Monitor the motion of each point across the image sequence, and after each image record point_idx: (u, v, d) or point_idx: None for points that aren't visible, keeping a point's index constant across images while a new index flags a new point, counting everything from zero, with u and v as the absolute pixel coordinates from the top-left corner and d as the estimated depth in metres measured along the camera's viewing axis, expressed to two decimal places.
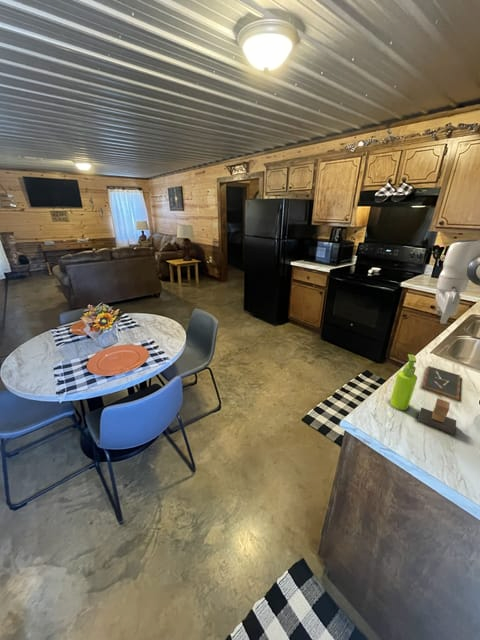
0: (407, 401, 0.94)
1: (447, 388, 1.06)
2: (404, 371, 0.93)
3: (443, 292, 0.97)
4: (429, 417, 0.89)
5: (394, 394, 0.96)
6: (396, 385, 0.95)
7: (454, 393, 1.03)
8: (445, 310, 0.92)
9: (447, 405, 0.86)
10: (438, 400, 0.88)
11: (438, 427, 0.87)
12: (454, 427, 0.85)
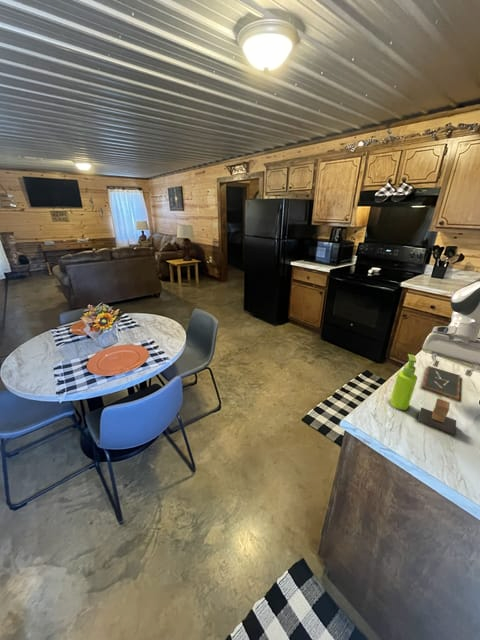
0: (407, 401, 0.94)
1: (447, 388, 1.06)
2: (404, 371, 0.93)
3: (468, 342, 0.92)
4: (429, 417, 0.89)
5: (394, 394, 0.96)
6: (396, 385, 0.95)
7: (454, 393, 1.03)
8: None
9: (447, 405, 0.86)
10: (438, 400, 0.88)
11: (438, 427, 0.87)
12: (454, 427, 0.85)
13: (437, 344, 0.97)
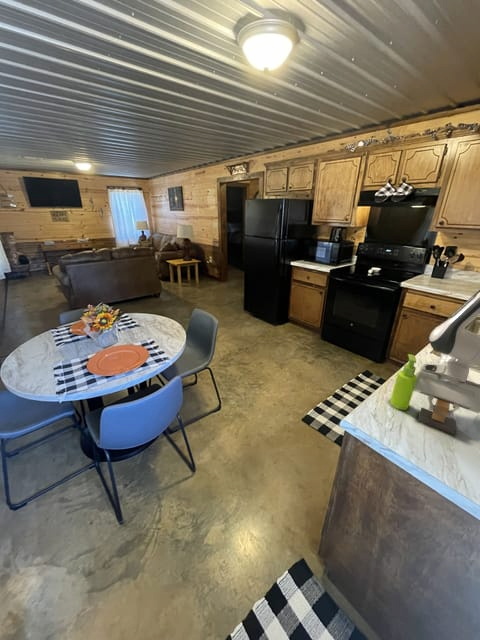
0: (407, 401, 0.94)
1: None
2: (404, 371, 0.93)
3: (458, 383, 0.87)
4: (429, 417, 0.89)
5: (394, 394, 0.96)
6: (396, 385, 0.95)
7: None
8: None
9: (447, 405, 0.86)
10: (438, 400, 0.88)
11: (438, 427, 0.87)
12: (454, 427, 0.85)
13: (425, 383, 0.91)
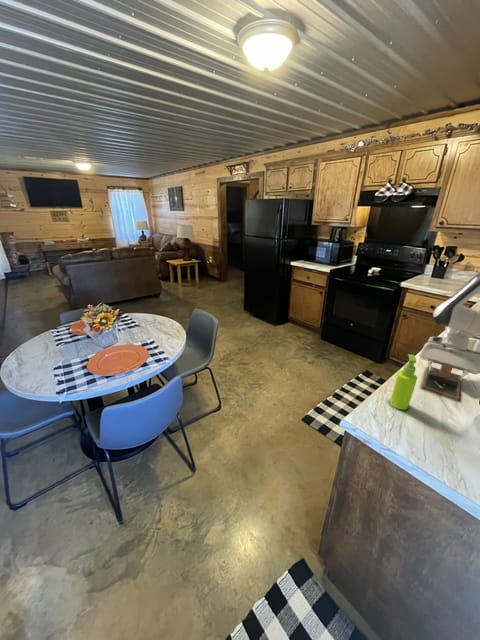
0: (407, 401, 0.94)
1: (447, 388, 1.06)
2: (404, 371, 0.93)
3: (459, 351, 1.06)
4: (437, 375, 1.10)
5: (394, 394, 0.96)
6: (396, 385, 0.95)
7: (454, 393, 1.03)
8: None
9: None
10: None
11: (444, 382, 1.09)
12: (457, 381, 1.06)
13: (432, 352, 1.11)
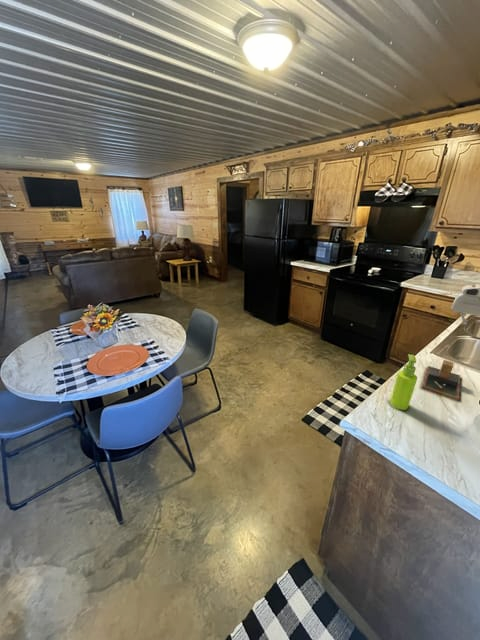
0: (407, 401, 0.94)
1: (447, 388, 1.06)
2: (404, 371, 0.93)
3: None
4: (437, 375, 1.10)
5: (394, 394, 0.96)
6: (396, 385, 0.95)
7: (454, 393, 1.03)
8: None
9: (451, 364, 1.07)
10: (444, 361, 1.09)
11: (444, 382, 1.09)
12: (457, 381, 1.06)
13: (466, 305, 0.97)
